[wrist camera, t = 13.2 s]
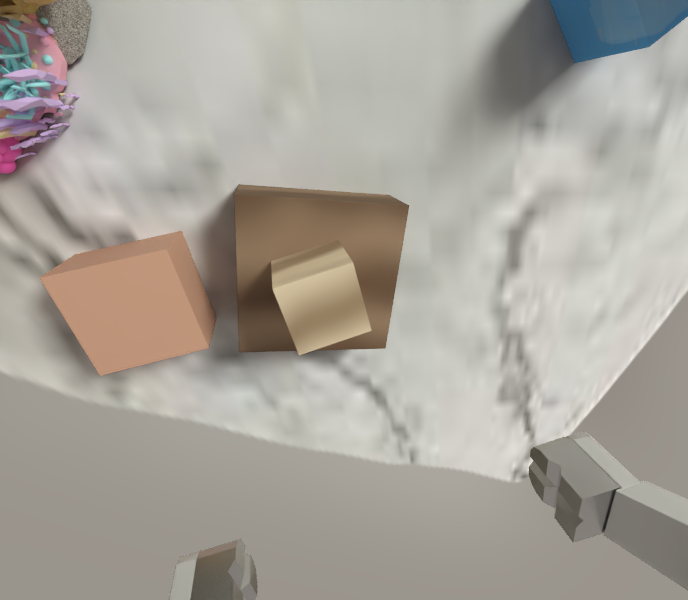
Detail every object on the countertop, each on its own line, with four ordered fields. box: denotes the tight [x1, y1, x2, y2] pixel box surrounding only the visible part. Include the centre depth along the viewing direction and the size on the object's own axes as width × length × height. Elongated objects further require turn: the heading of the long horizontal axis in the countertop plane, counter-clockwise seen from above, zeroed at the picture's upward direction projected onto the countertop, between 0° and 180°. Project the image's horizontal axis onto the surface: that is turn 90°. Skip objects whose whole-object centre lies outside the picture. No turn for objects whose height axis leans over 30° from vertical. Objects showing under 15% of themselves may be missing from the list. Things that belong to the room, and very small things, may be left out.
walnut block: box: [234, 185, 409, 352], centre depth 29 cm, size 12×12×5 cm
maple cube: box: [271, 240, 372, 355], centre depth 25 cm, size 5×5×5 cm
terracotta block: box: [40, 231, 216, 376], centre depth 27 cm, size 8×8×5 cm
